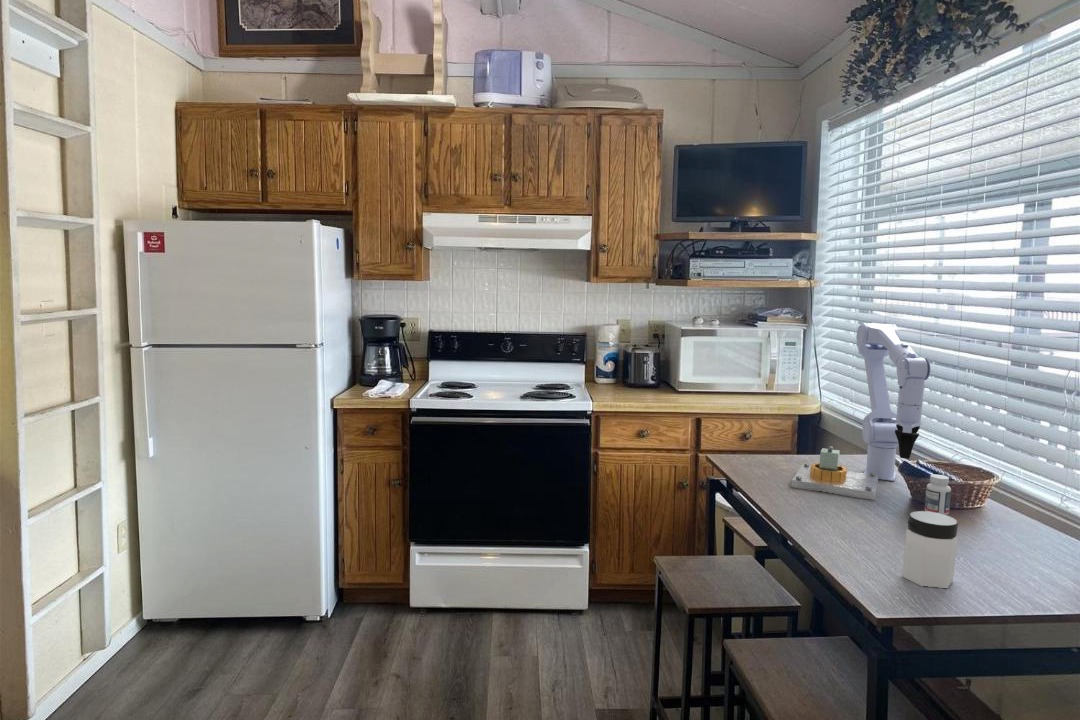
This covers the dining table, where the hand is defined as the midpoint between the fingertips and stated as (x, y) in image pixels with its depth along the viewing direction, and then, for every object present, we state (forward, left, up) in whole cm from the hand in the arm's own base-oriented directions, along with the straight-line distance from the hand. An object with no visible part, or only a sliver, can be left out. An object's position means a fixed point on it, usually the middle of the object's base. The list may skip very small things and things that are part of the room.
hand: (905, 454), depth 195 cm
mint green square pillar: (+3, -18, -8) cm, 20 cm away
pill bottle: (+14, +8, -10) cm, 19 cm away
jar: (+60, +6, -10) cm, 61 cm away
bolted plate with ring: (+3, -16, -10) cm, 19 cm away
